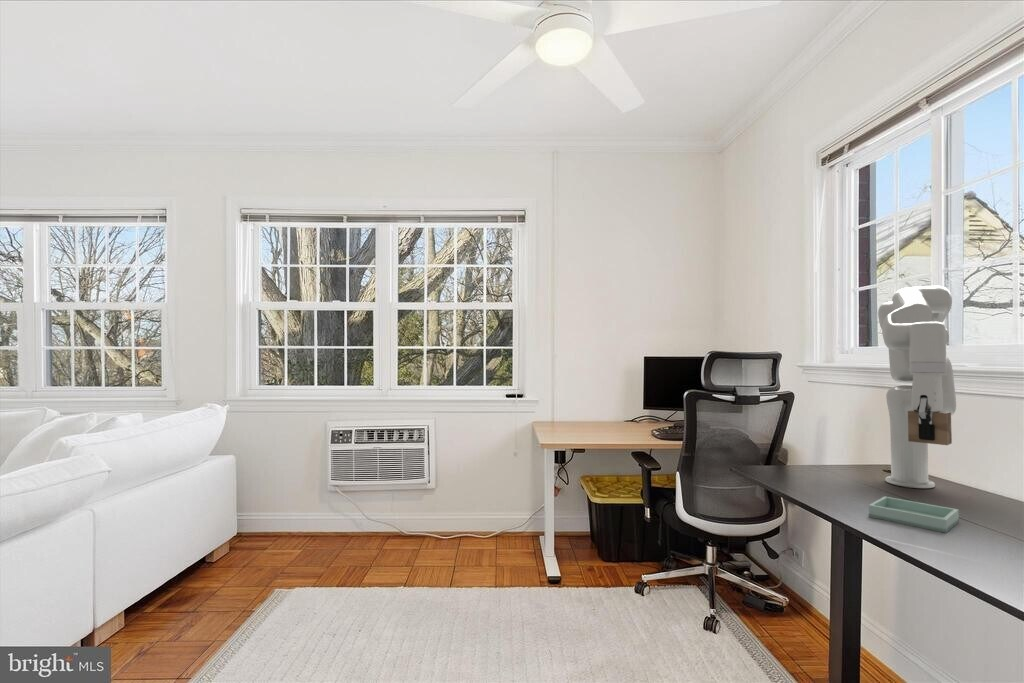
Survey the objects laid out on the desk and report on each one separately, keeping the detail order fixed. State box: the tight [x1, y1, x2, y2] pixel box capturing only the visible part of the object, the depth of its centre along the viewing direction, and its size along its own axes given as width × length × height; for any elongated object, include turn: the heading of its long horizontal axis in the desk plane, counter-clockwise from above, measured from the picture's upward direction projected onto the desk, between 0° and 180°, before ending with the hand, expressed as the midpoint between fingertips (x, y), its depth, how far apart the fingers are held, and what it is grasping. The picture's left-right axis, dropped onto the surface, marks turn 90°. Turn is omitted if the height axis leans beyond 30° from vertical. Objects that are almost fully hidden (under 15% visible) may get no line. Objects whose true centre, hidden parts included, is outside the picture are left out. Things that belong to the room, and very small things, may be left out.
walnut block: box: [908, 410, 953, 446], centre depth 136 cm, size 5×8×8 cm, turn 40°
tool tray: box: [868, 495, 960, 534], centre depth 132 cm, size 13×16×3 cm
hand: (929, 438), depth 136 cm, fingers closed on walnut block, 5 cm apart
